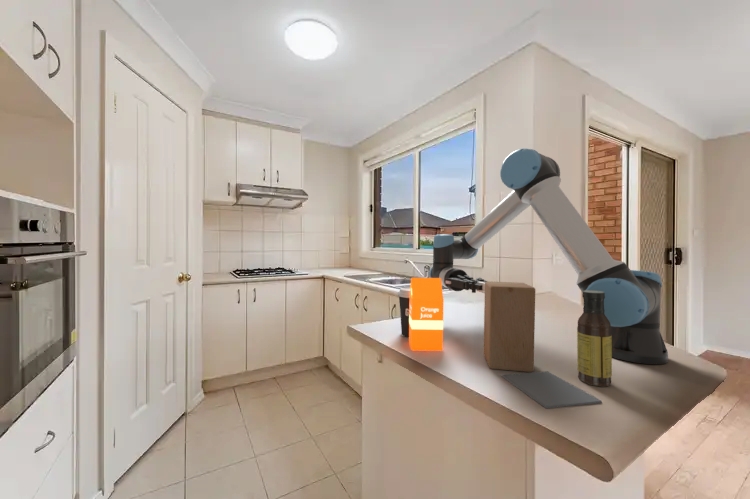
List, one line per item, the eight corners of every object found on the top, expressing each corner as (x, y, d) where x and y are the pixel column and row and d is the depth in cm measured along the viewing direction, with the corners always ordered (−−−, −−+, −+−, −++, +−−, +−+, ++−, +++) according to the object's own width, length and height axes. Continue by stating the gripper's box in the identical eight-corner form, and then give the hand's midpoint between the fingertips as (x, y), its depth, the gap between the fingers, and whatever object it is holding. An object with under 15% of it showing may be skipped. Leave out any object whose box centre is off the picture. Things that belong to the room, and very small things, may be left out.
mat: (501, 376, 71) (501, 374, 71) (547, 372, 73) (547, 371, 73) (546, 408, 57) (546, 406, 57) (601, 402, 60) (601, 400, 60)
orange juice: (408, 342, 95) (409, 276, 95) (437, 342, 95) (438, 276, 95) (411, 350, 88) (412, 279, 87) (443, 351, 88) (444, 279, 87)
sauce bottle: (602, 376, 72) (604, 289, 71) (617, 389, 65) (620, 294, 65) (571, 374, 73) (573, 288, 73) (583, 386, 67) (585, 292, 66)
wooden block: (534, 373, 73) (536, 287, 73) (489, 369, 75) (490, 286, 75) (523, 358, 83) (524, 282, 83) (483, 354, 85) (484, 281, 85)
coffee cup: (395, 338, 99) (396, 290, 99) (398, 330, 108) (399, 286, 108) (426, 340, 97) (427, 291, 97) (426, 331, 107) (427, 287, 107)
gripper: (470, 289, 111) (512, 302, 88) (435, 290, 108) (468, 303, 85) (471, 268, 111) (512, 275, 87) (436, 268, 108) (469, 276, 85)
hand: (491, 289), depth 86 cm, fingers closed
